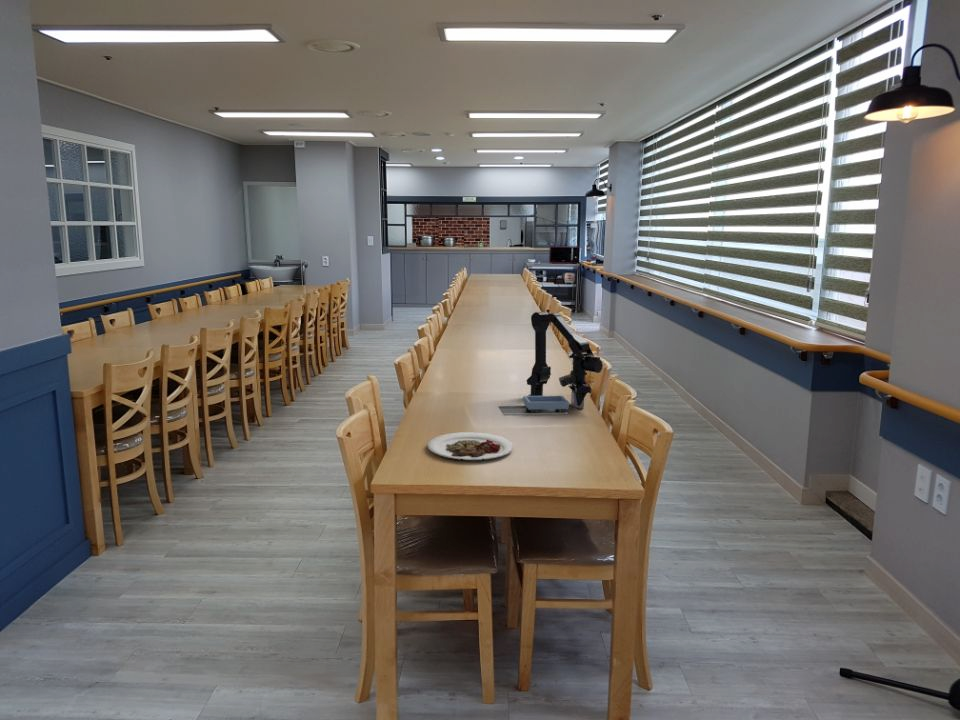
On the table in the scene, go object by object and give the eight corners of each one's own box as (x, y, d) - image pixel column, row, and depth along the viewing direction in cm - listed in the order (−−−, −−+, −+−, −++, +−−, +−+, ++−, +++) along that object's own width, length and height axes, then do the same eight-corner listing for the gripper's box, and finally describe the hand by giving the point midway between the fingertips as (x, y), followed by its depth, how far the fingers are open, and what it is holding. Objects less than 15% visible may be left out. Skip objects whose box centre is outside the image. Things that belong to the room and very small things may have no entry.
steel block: (570, 406, 304) (571, 390, 303) (580, 406, 305) (581, 390, 303) (573, 408, 300) (574, 393, 298) (583, 408, 300) (584, 393, 299)
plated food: (415, 441, 250) (416, 432, 249) (491, 433, 262) (491, 425, 261) (445, 468, 223) (445, 458, 222) (528, 458, 235) (528, 448, 234)
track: (498, 408, 297) (498, 405, 297) (559, 408, 301) (559, 404, 300) (503, 417, 284) (503, 413, 284) (567, 416, 288) (567, 412, 288)
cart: (523, 406, 297) (523, 396, 296) (561, 406, 300) (562, 395, 299) (528, 413, 286) (528, 402, 286) (568, 413, 289) (568, 402, 288)
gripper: (555, 365, 307) (554, 399, 310) (566, 373, 289) (564, 409, 292) (580, 365, 308) (578, 398, 311) (592, 373, 290) (590, 409, 293)
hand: (577, 404), depth 302 cm, fingers closed on steel block, 4 cm apart
